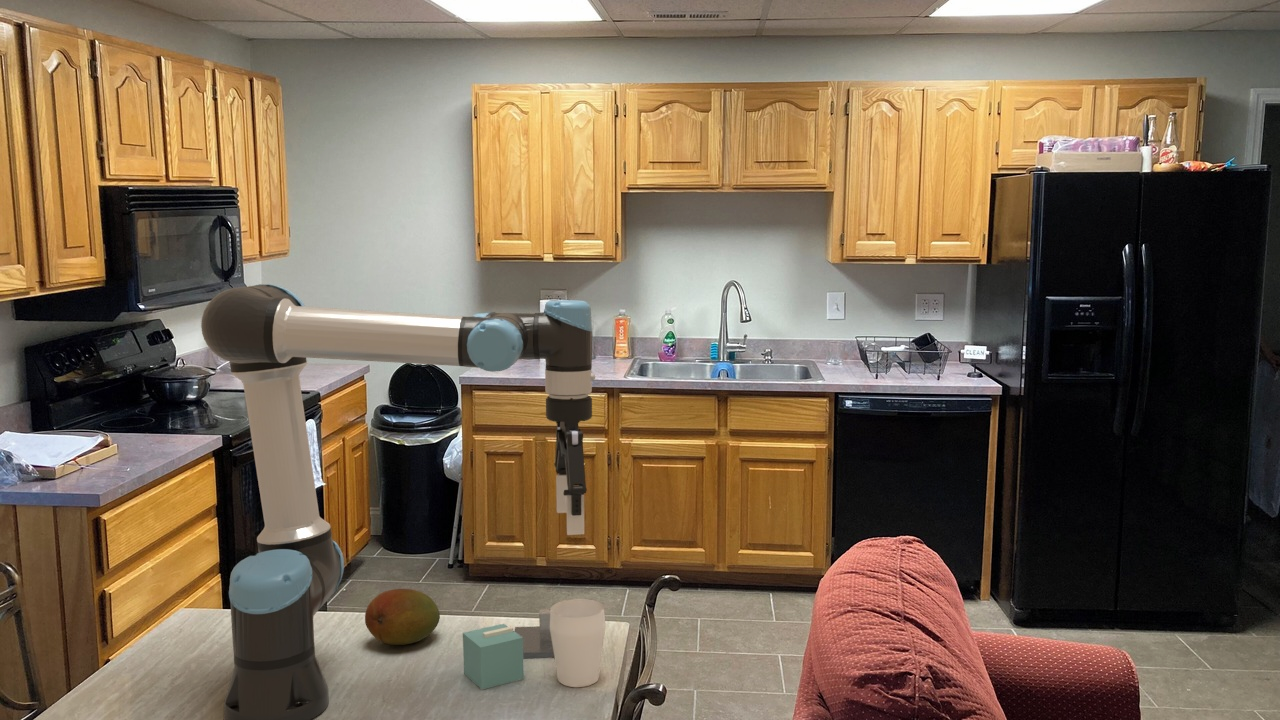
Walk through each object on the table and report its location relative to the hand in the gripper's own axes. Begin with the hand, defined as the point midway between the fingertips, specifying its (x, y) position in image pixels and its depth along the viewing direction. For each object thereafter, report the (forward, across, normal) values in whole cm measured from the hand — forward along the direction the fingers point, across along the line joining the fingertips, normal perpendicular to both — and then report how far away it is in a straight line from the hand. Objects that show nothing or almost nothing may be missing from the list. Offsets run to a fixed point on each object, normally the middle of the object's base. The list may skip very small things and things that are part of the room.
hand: (569, 523), depth 167 cm
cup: (+25, -5, -1) cm, 26 cm away
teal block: (+25, 0, +13) cm, 28 cm away
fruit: (+25, +18, +28) cm, 42 cm away
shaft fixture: (+25, +11, +3) cm, 27 cm away
